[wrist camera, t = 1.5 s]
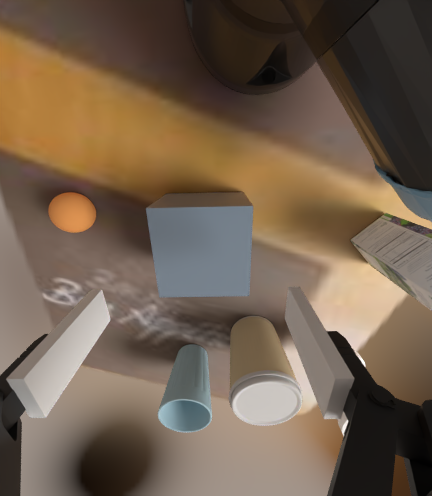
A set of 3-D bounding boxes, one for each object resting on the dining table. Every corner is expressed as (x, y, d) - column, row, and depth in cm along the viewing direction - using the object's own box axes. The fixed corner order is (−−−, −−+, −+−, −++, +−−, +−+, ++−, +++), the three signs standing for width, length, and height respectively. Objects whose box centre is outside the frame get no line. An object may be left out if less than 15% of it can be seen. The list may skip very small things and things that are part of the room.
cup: (217, 366, 41) (217, 429, 32) (179, 372, 42) (167, 435, 32) (207, 336, 38) (204, 396, 29) (167, 343, 39) (150, 404, 30)
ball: (75, 181, 28) (47, 186, 23) (109, 205, 29) (89, 214, 25) (60, 211, 30) (31, 221, 25) (93, 232, 31) (71, 246, 26)
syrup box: (404, 239, 31) (547, 302, 18) (367, 265, 33) (471, 341, 19) (384, 211, 29) (524, 258, 16) (346, 240, 31) (444, 304, 18)
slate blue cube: (166, 193, 29) (145, 208, 20) (243, 191, 28) (253, 205, 20) (173, 262, 33) (159, 297, 24) (241, 261, 32) (249, 295, 24)
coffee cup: (221, 348, 39) (223, 423, 28) (231, 308, 36) (237, 375, 25) (271, 354, 40) (292, 430, 29) (285, 315, 36) (315, 384, 25)
